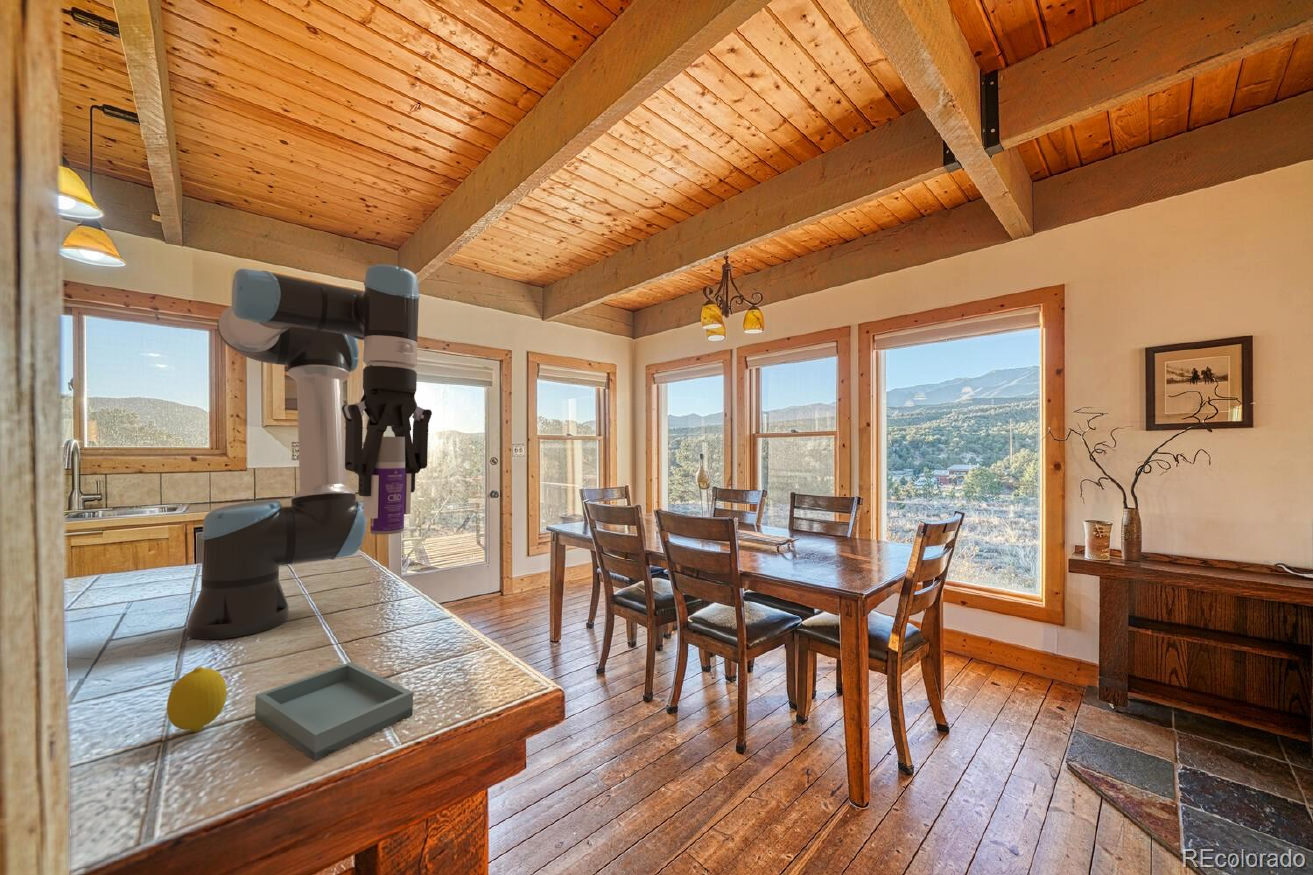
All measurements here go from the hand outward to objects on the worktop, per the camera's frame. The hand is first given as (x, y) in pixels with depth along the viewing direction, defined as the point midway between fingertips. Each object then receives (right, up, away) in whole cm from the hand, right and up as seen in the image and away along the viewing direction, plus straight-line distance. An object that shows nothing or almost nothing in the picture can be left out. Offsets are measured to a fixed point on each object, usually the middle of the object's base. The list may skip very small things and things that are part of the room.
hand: (387, 515), depth 81 cm
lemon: (-15, -25, -17) cm, 33 cm away
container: (0, -3, 0) cm, 3 cm away
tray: (0, -25, -12) cm, 28 cm away
